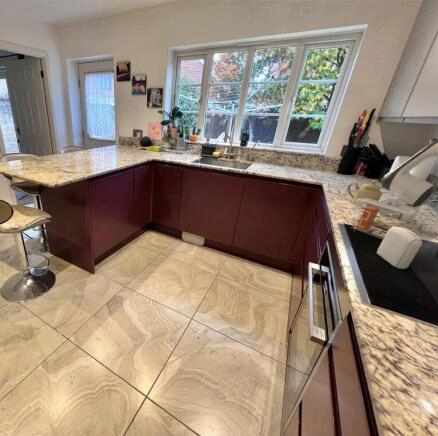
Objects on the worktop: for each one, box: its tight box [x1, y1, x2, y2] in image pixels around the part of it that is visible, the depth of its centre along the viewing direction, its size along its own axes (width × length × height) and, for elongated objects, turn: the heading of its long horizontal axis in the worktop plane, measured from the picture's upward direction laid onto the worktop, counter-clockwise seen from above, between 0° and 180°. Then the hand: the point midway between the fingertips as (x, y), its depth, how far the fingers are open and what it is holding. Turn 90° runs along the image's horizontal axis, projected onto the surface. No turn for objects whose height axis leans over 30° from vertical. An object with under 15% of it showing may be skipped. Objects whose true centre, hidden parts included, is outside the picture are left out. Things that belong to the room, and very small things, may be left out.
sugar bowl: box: [347, 179, 383, 205], centre depth 134 cm, size 15×11×15 cm
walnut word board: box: [356, 219, 393, 232], centre depth 106 cm, size 18×8×2 cm, turn 26°
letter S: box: [355, 206, 380, 231], centre depth 102 cm, size 3×5×10 cm, turn 115°
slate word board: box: [350, 224, 387, 241], centre depth 99 cm, size 18×8×2 cm, turn 26°
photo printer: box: [376, 226, 423, 270], centre depth 80 cm, size 10×4×12 cm, turn 169°
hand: (376, 211), depth 102 cm, fingers open, 8 cm apart
